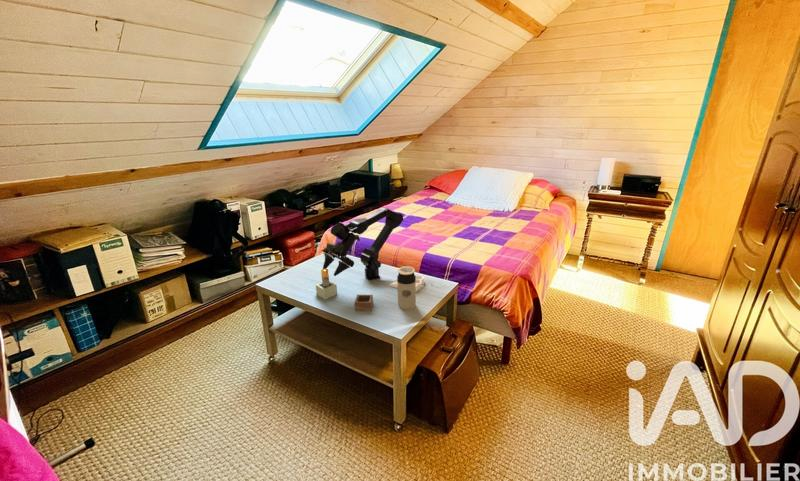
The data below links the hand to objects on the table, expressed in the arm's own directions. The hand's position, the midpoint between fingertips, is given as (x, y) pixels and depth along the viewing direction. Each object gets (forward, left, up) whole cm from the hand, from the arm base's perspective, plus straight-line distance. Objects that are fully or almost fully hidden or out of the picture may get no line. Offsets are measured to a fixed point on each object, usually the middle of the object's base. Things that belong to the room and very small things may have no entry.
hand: (328, 272), depth 170 cm
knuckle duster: (-37, +9, -12) cm, 40 cm away
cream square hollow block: (+2, +1, -12) cm, 12 cm away
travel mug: (-29, +25, -12) cm, 40 cm away
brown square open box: (-11, +19, -12) cm, 25 cm away
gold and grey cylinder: (+2, +1, -11) cm, 11 cm away
